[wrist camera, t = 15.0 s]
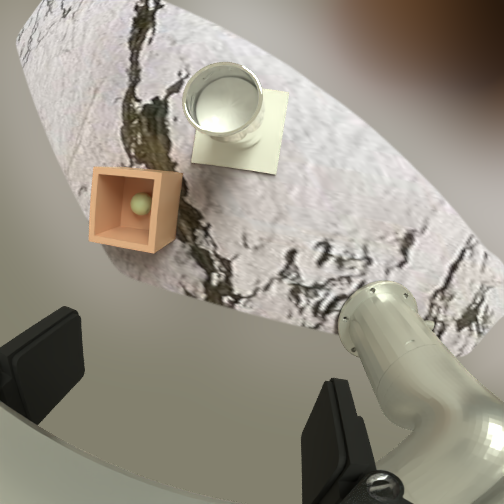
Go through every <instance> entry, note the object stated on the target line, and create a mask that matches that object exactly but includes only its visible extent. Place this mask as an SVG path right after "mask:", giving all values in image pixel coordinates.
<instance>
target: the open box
mask: <svg viewBox="0 0 504 504" xmlns="http://www.w3.org/2000/svg"><path fill="white" fill-rule="evenodd" d="M182 177H183V173H179V172H170V171H161V170H151V169H141V168H130V167H94V168H93V178H92V189H91V202H90V219H89V241H91V242H96V243H101V244H106V245H111V246H117V247H122V248H127V249H132V250H138V251H143V252H149V253H156V252H157V251H159V250H160V249H161V248H163V247H164V246H166V245H167V244H169V243H170V242H172V241H173V240H175V237H176V227H177V218H178V209H179V201H180V193H181V185H182ZM140 192H144V193H147V194H148V195H150V197H151V198H152V207H151V211H150V212H149V213H147V214H145V215H137V214H135V213H134V212H133V211H132V209H131V205H130V203H131V199H132V197H133V196H134V195H135V194H137V193H140Z"/></svg>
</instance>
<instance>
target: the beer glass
mask: <svg viewBox="0 0 504 504" xmlns="http://www.w3.org/2000/svg"><path fill="white" fill-rule="evenodd" d="M182 106H183V111H184V114H185V116H186V118H187V120H188V121H189V123H190V124H191V125H192V126H193V127H194V128H195V129H197V130H198V131H199V132H200V133H201V134H202V135H203V136H205V137H206V138H208V139H209V140H211V141H214V142H216V143H219V144H224V145H227V146H229V147H232V148H235V149H245V148H249V147H251V146H253V145H254V144H256V143H257V142H258V141H259V140H260V139H261V137H262V135H263V133H264V129H265V122H264V121H265V118H266V110H267V105H266V99H265V95H264V92H263V90H262V88H261V85H260V82H259V80H258V79H257V77H256V76H255V75H254V74H253V73H252V72H251V71H250V70H249V69H247V68H246V67H244V66H242V65H239V64H236V63H232V62H218V63H214V64H210V65H208V66H206V67H204V68H202V69H200V70H199V71H198V72H196V73H195V74H194V75H193V76H192V77H191V79H190V80H189V81H188V83H187V85H186V87H185V89H184V92H183V98H182Z"/></svg>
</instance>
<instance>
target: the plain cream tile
mask: <svg viewBox="0 0 504 504" xmlns="http://www.w3.org/2000/svg"><path fill="white" fill-rule="evenodd" d="M262 90H263V92H264V95H265V99H266V105H267V110H266V118H265V121H264V122H265V129H264V133H263V135H262V137H261V139H260V140H259V141H258V142H257V143H256V144H254V145H253V146H251V147H249V148H245V149H235V148H232V147H229V146H227V145H224V144H219V143H216V142H214V141H211V140H209V139H208V138H206V137H205V136H203V135H202V134H201V133H200V132H199V131H198V130H197V129H196V135H195V141H194V147H193V154H192V160H191V163H199V164H208V165H215V166H223V167H230V168H237V169H244V170H251V171H257V172H264V173H270V174H276V171H277V165H278V159H279V153H280V147H281V141H282V134H283V128H284V122H285V115H286V109H287V103H288V96H289V92H283V91H277V90H270V89H263V88H262Z"/></svg>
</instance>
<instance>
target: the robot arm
mask: <svg viewBox="0 0 504 504" xmlns="http://www.w3.org/2000/svg"><path fill="white" fill-rule="evenodd" d="M371 288H372V289H371ZM370 289H371V290H370ZM343 317H345V318H343ZM433 328H434V322H433V321H427V320H426V321H424V320H423V319H422V318H421V317H420V316H419V315H418V308H417V303H416V301H415V298H414V297H413V295H412V294H411V292H410V291H409V290H408V289H407V288H405V287H404V286H403V285H401V284H399V283H396V282H394V281H387V280H385V281H376V282H372V283H369V284H367V285H365V286H363V287H361V288H360V289H358V290H357V291H356V292H355V293H353V294H352V295H351V296H350V297H349V299H348V300H347V301H346V302H345V304H344V306H343V308H342V310H341V312H340V315H339V318H338V334H339V337H340V340H341V342H342V344H343V346H344V347H345V348H346V350H347V351H348V352H350V353H351V354H353V355H355V356H356V357H360V359H361V362H362V364H363V367H364V369H365V371H366V374H367V376H368V378H369V380H370V383H371V386H372V388H373V391H374V393H375V395H376V398H377V400H378V403H379V405H380V407H381V410H382V412H383V414H384V415H385V416H386V418H387V419H388V420H389V421H390V422H392V423H393V424H395V425H396V426H399V427H401V428H404V429H408V430H412V432H411V434H410V435H409V436H408V437H406V438H405V439H404V440H403V441H402V442H401V443H399V444H398V446H397V447H395V448H394V449H393V450H392V451H390V452H389V453H388V454H386V455H385V456H384V457H382V458H381V459H380V460H378V461H377V462H376V463H375V461H374V457H373V453H372V449H371V446H370V442H369V439H368V435H367V431H366V427H365V424H364V420H363V418H362V417H361V416H357V413H356V409H355V405H354V402H353V398H352V394H351V391H350V387H349V384H348V381H347V380H343V379H337V378H331V379H330V381H325V382H324V384H323V386H322V389H321V391H320V394H319V396H318V398H317V401H316V403H315V405H314V407H313V410H312V412H311V414H310V416H309V419H308V421H307V423H306V425H305V428H304V430H303V432H302V436H301V455H302V504H504V402H503V401H501V400H500V399H499V398H498V397H497V396H495V395H494V394H493V393H492V392H491V391H489V390H488V389H487V388H486V387H484V386H483V385H482V384H481V383H480V382H479V381H478V380H476V379H475V378H474V377H473V376H472V375H471V374H470V373H469V372H468V371H467V370H466V369H465V368H464V367H463V365H462V364H461V363H460V362H459V361H458V360H457V359H456V358H455V356H454V355H453V354H452V353H451V352H450V351H449V350H448V349H447V348H446V347H445V345H444V344H443V343H442V342H441V341H440V340H439V339H438V338H437V336H436V335H435V334H434V333H433V332H432V331H431V330H433ZM84 372H85V368H84V358H83V346H82V331H81V317H80V316H79V315H78V312H77V311H76V310H74V309H71V308H69V307H66V306H63V307H61V308H60V309H58V310H56V311H55V312H53V313H52V314H50V315H49V316H47V317H46V318H44V319H42V320H41V321H40V322H38V323H36V324H35V325H33V326H32V327H30V328H29V329H27V330H26V331H24V332H23V333H21V334H20V335H18V336H17V337H15V338H14V339H12V340H11V341H9V342H8V343H6V344H5V345H3V346H2V347H0V504H245V503H240V502H235V501H229V500H225V499H220V498H215V497H211V496H207V495H203V494H199V493H195V492H191V491H188V490H184V489H181V488H177V487H174V486H170V485H168V484H164V483H161V482H158V481H155V480H152V479H149V478H147V477H144V476H141V475H138V474H136V473H133V472H131V471H128V470H125V469H123V468H120V467H118V466H116V465H113V464H111V463H109V462H106V461H104V460H102V459H100V458H97V457H95V456H93V455H91V454H89V453H87V452H85V451H83V450H80V449H79V448H77V447H75V446H73V445H71V444H69V443H67V442H66V441H64V440H62V439H60V438H58V437H56V436H54V435H53V434H51V433H49V432H48V431H46V430H44V429H43V428H41V427H39V426H38V424H39V423H40V422H41V421H42V420H43V419H44V418H45V417H46V416H47V415H48V414H49V413H50V411H51V410H52V409H53V408H54V407H55V406H56V405H57V404H58V403H59V402H60V401H61V400H62V399H63V398H64V396H65V395H66V394H67V393H68V392H69V391H70V390H71V389H72V388H73V387H74V386H75V385H76V384H77V383H78V382H79V381H80V380H81V378H82V377H83V375H84Z"/></svg>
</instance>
